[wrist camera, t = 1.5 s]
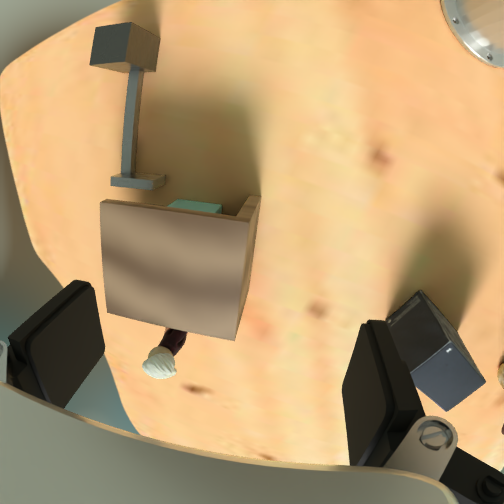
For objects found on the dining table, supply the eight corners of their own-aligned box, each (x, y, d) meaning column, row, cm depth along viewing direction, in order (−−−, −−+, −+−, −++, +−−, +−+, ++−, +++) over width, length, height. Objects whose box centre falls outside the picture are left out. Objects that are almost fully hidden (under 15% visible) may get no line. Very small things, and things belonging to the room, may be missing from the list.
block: (178, 198, 35) (161, 210, 30) (222, 204, 35) (211, 217, 30) (176, 241, 37) (160, 257, 32) (218, 247, 37) (207, 266, 32)
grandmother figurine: (185, 276, 38) (143, 338, 27) (214, 290, 38) (183, 358, 27) (166, 322, 41) (128, 387, 29) (193, 335, 41) (161, 404, 30)
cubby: (145, 182, 35) (99, 202, 26) (261, 196, 34) (249, 222, 25) (144, 272, 39) (107, 312, 30) (248, 291, 38) (234, 341, 29)
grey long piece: (128, 40, 29) (95, 27, 22) (180, 37, 28) (155, 19, 22) (115, 179, 35) (81, 191, 28) (165, 184, 34) (137, 197, 28)
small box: (380, 322, 38) (401, 379, 28) (419, 287, 35) (452, 337, 26) (423, 361, 39) (445, 415, 29) (458, 331, 37) (488, 381, 27)
